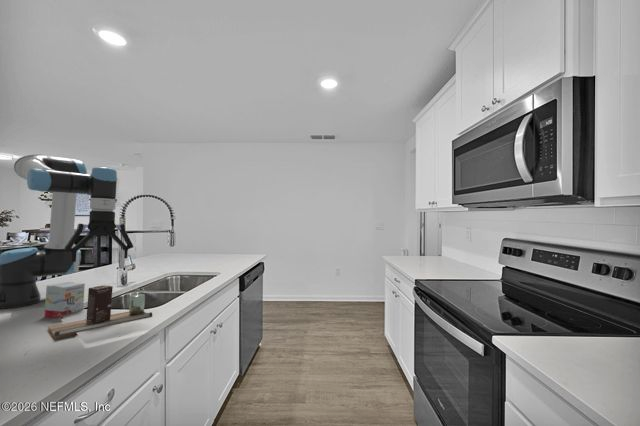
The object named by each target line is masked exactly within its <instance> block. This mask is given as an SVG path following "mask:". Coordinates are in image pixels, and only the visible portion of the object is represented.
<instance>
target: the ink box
mask: <svg viewBox="0 0 640 426" xmlns="http://www.w3.org/2000/svg"><path fill="white" fill-rule="evenodd" d="M85 286H86V283H83V282H75V281H66V282H62V283H61V282H60V283H55V284H49V285H46V290H45V291H46V292H45V304H44V318H45V317H47V318H55V319H64V317H63V316H65V315H69V314H72V313H75V312H79V311H81V310H82V311H83V310H84V304H85V303H84V301H85Z"/></svg>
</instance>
